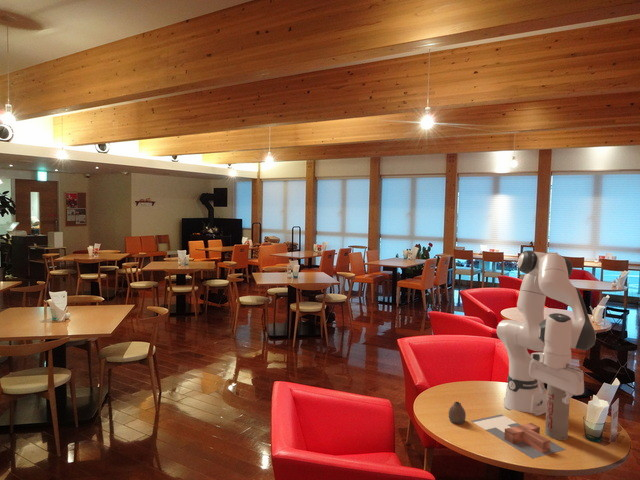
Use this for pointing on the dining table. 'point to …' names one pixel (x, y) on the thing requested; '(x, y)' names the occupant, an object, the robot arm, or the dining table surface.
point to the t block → (528, 436)
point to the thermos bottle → (556, 414)
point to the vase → (457, 413)
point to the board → (497, 428)
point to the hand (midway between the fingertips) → (553, 398)
